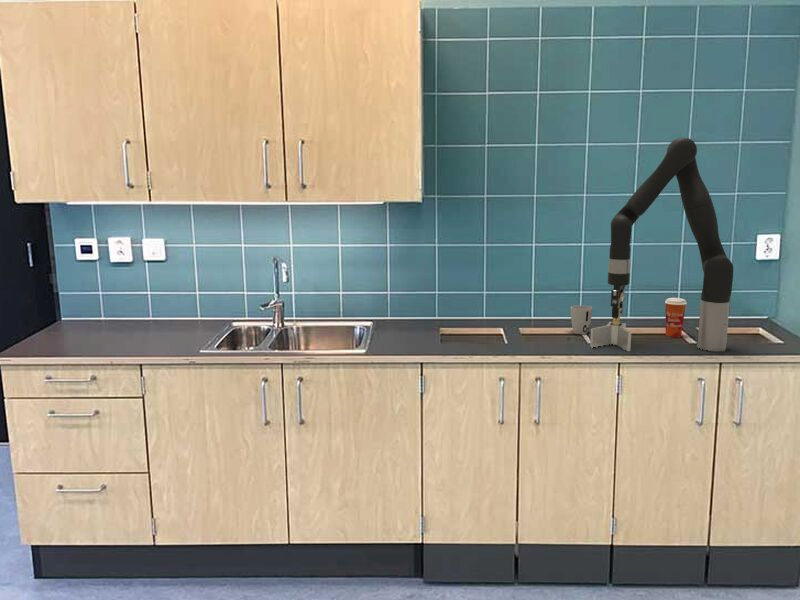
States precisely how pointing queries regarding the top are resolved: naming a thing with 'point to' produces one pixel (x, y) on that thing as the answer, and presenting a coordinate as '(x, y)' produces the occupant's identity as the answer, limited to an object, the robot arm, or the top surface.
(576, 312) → the cup
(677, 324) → the paper cup
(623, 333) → the grey finned stand
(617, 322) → the pin
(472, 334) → the top surface
